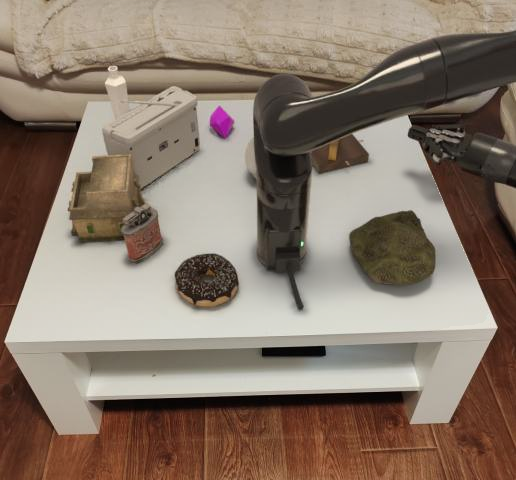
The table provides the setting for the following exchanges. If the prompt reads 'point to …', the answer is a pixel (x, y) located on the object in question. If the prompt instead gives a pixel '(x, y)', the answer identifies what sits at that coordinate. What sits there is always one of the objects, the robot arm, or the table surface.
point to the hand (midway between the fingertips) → (409, 130)
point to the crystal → (221, 121)
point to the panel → (339, 155)
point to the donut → (206, 290)
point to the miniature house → (104, 198)
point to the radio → (156, 133)
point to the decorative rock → (394, 249)
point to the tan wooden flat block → (333, 150)
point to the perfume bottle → (117, 92)
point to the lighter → (142, 233)
